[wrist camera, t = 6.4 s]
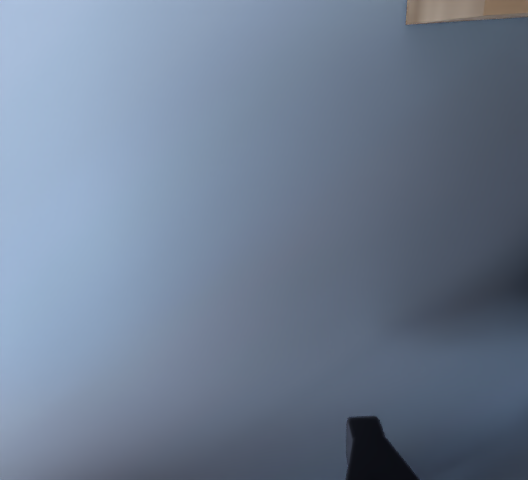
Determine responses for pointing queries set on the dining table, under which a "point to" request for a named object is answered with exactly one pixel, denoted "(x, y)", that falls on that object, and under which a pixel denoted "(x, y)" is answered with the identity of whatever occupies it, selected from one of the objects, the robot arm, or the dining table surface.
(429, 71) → the dining table surface
